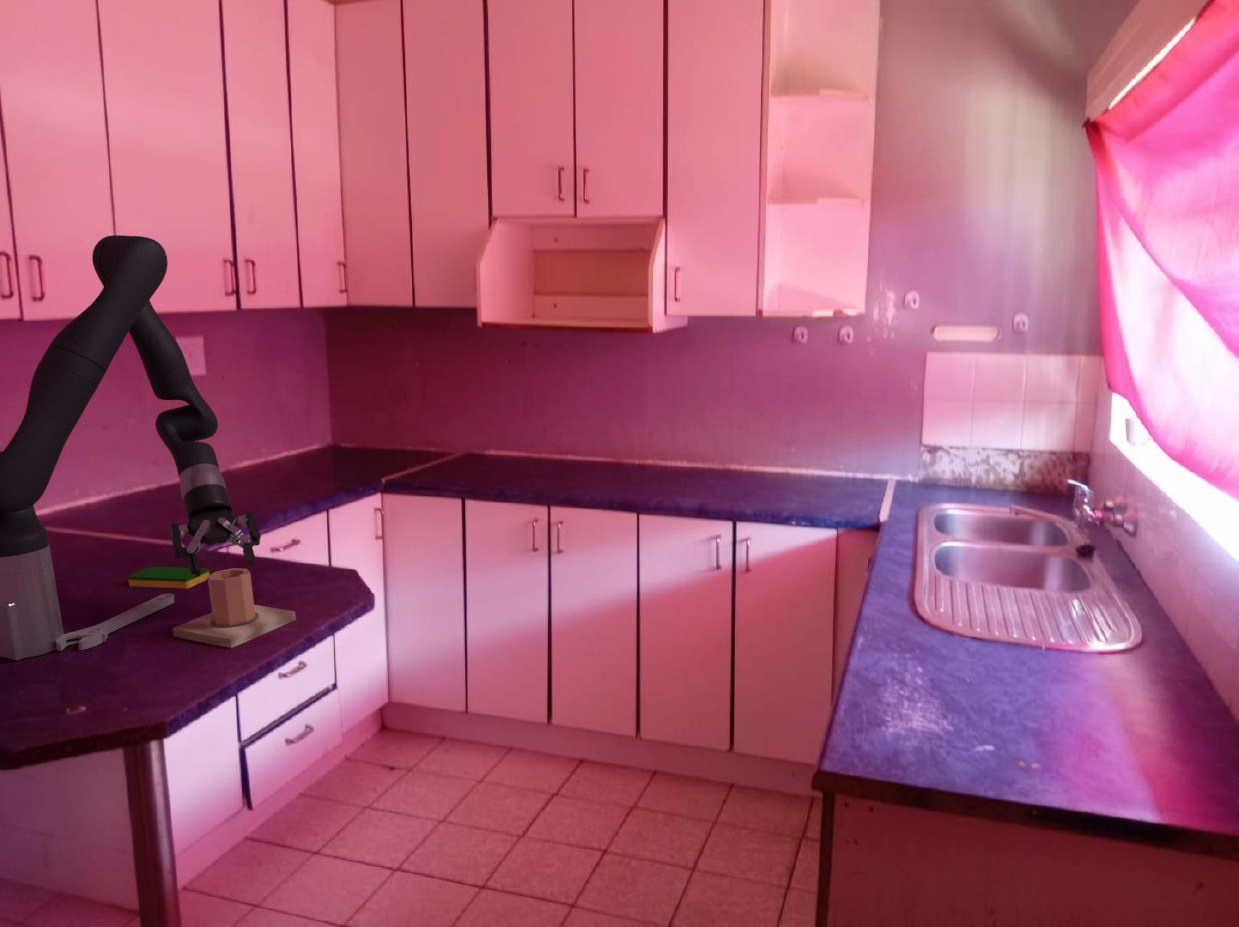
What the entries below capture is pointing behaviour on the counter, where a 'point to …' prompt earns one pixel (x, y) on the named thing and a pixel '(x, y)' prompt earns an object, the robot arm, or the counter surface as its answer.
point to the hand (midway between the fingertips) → (224, 569)
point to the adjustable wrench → (112, 624)
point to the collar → (231, 596)
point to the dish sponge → (167, 577)
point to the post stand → (234, 627)
